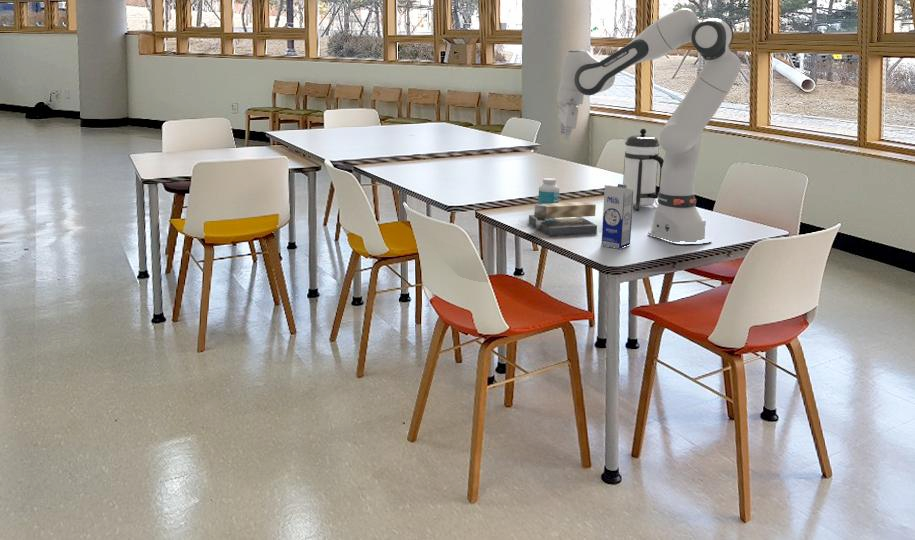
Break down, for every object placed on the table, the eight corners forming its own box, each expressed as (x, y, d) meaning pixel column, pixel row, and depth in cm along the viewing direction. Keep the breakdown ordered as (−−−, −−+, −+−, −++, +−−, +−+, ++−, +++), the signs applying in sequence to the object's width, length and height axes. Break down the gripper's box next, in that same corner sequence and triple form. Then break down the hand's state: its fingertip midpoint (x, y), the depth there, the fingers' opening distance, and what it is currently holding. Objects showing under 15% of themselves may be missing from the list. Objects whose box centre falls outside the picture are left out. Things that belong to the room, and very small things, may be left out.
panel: (596, 234, 321) (597, 222, 320) (546, 236, 316) (547, 224, 315) (573, 221, 340) (574, 209, 339) (526, 223, 335) (526, 211, 334)
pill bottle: (557, 218, 344) (558, 181, 340) (536, 217, 346) (538, 180, 342) (559, 213, 351) (560, 177, 348) (539, 212, 353) (540, 176, 349)
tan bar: (537, 218, 322) (537, 207, 321) (532, 215, 326) (532, 204, 325) (595, 216, 328) (595, 204, 326) (589, 212, 332) (589, 201, 331)
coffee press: (615, 210, 359) (620, 130, 351) (621, 202, 374) (625, 125, 365) (662, 213, 354) (668, 132, 346) (666, 205, 369) (671, 127, 361)
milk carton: (600, 245, 306) (604, 184, 300) (611, 242, 311) (614, 181, 305) (620, 249, 302) (624, 187, 296) (630, 245, 307) (634, 184, 301)
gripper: (584, 102, 317) (577, 143, 321) (575, 93, 336) (569, 132, 341) (565, 100, 316) (559, 141, 321) (557, 91, 336) (551, 130, 340)
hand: (564, 136), depth 331 cm, fingers open, 8 cm apart
